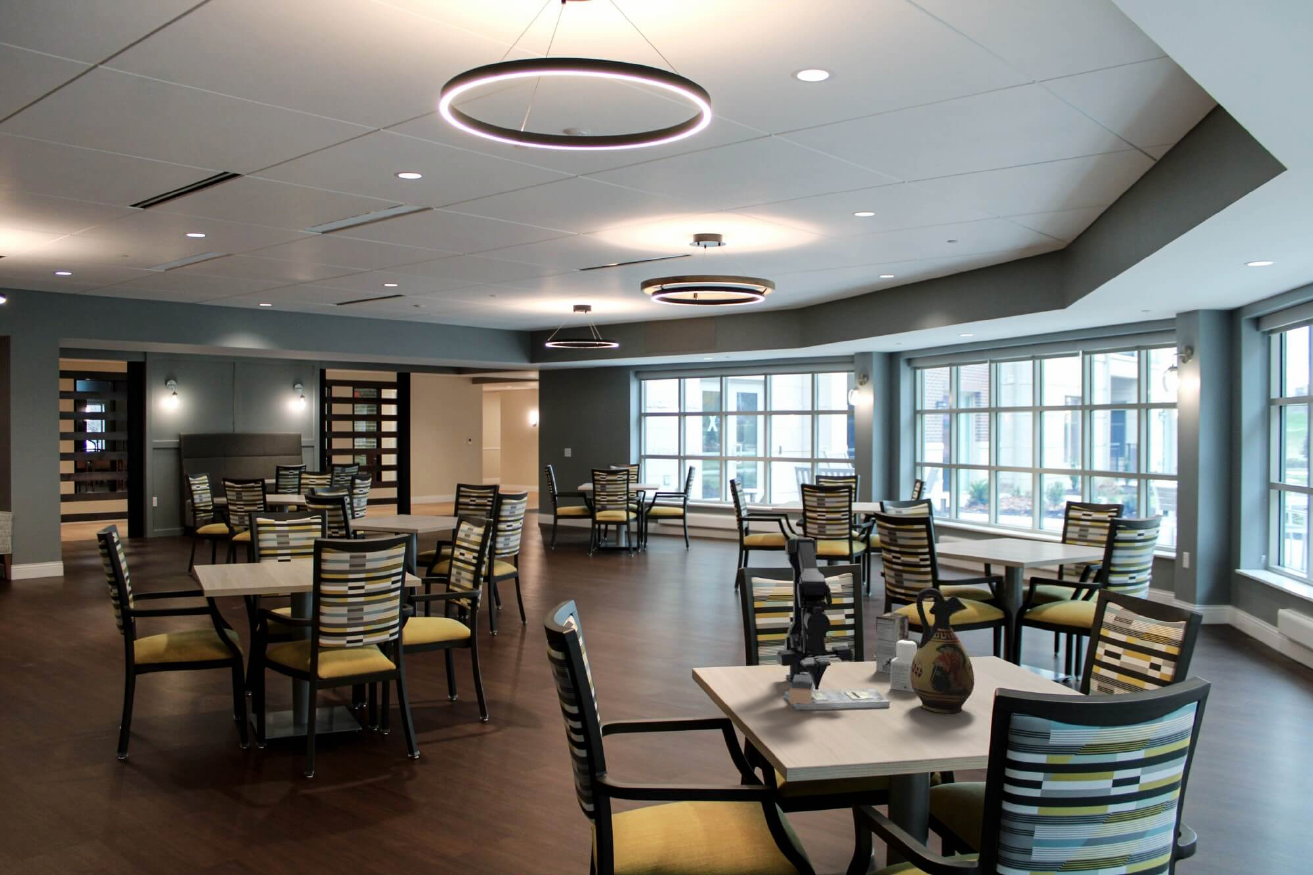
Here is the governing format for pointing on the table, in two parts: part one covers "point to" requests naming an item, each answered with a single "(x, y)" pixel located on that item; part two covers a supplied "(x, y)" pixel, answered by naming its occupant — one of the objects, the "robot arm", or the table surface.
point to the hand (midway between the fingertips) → (816, 689)
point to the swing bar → (801, 689)
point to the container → (903, 664)
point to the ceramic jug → (941, 658)
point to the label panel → (842, 700)
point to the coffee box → (889, 638)
